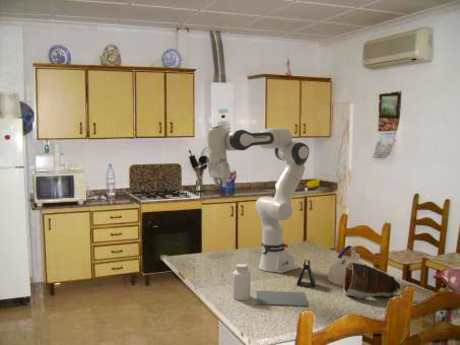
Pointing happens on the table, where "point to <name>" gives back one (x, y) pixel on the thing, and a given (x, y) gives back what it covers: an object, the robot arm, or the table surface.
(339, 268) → the kettle
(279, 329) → the table surface
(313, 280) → the phone stand
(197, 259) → the table surface
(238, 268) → the pill bottle
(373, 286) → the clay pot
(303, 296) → the mat
